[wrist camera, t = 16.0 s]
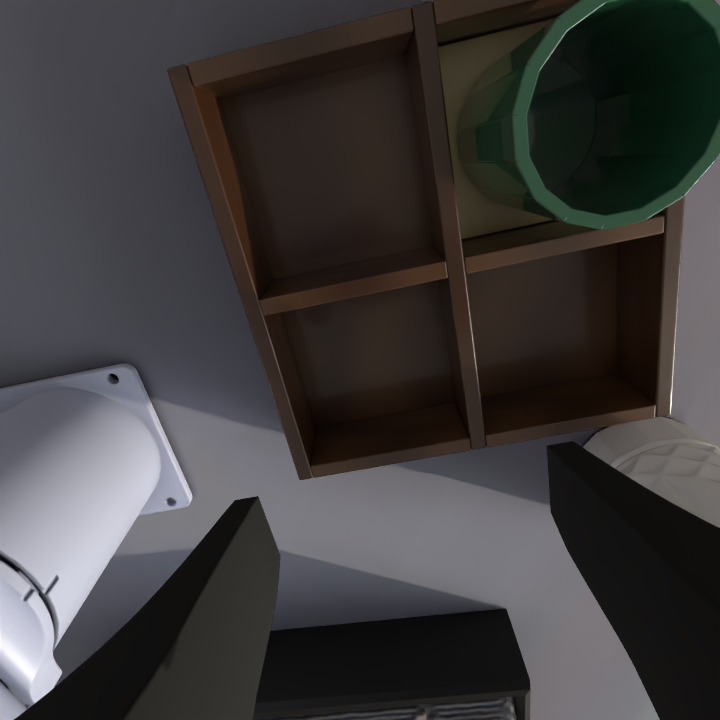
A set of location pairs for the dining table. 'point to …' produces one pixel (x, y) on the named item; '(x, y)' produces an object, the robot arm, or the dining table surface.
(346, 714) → the food platter
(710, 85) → the tumbler
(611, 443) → the white cup
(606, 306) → the rack
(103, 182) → the dining table surface
